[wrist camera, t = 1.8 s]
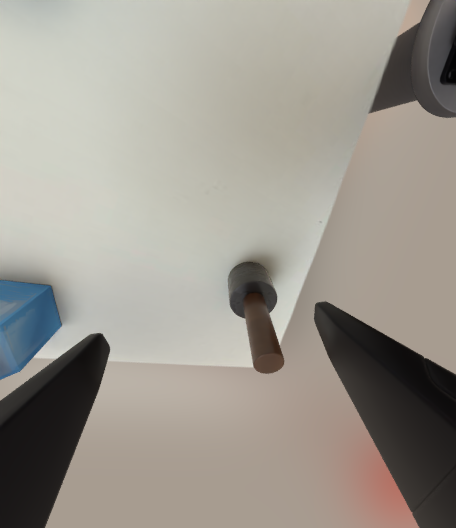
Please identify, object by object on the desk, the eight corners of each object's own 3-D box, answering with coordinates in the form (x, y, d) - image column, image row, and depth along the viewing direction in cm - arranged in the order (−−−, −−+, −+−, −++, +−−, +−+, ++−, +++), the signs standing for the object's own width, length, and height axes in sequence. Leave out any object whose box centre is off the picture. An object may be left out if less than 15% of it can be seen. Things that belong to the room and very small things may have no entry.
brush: (270, 261, 23) (309, 338, 13) (266, 296, 25) (296, 383, 16) (228, 262, 23) (236, 340, 13) (227, 296, 25) (233, 386, 15)
